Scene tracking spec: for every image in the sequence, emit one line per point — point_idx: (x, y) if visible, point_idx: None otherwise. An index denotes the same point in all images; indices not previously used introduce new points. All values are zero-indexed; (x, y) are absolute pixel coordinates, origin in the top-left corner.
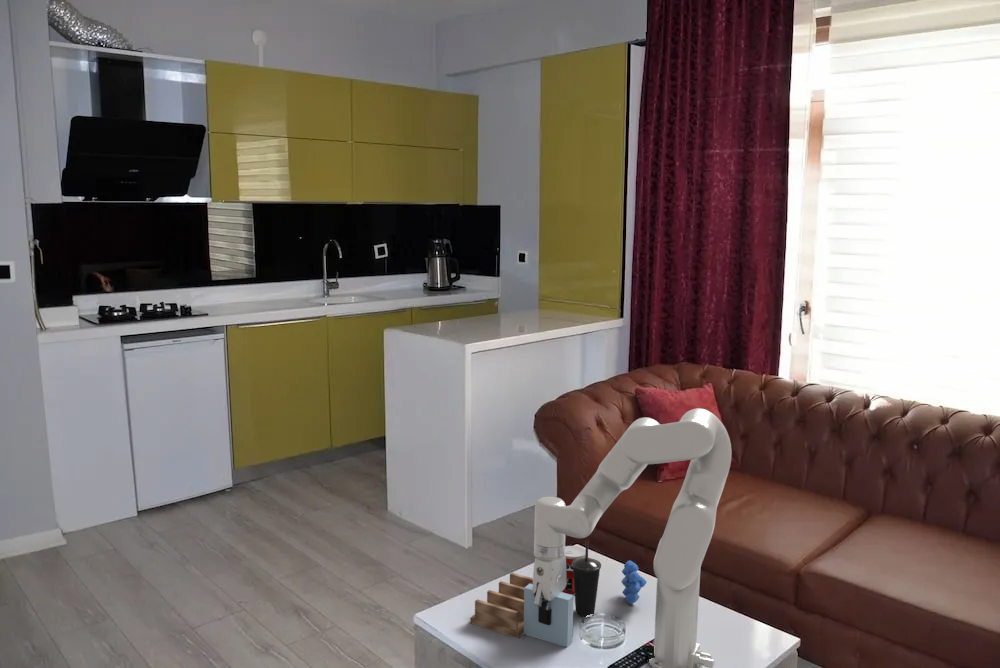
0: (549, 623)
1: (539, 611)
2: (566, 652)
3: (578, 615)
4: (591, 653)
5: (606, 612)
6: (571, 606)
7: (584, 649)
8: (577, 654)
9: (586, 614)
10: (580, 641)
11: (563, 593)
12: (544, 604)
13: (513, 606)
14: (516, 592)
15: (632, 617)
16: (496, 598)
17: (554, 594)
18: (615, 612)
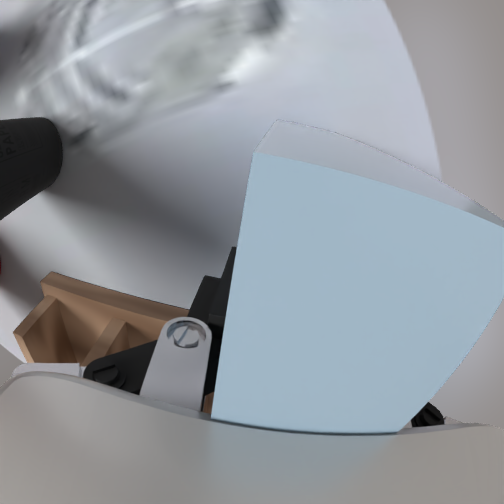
0: None
1: None
2: (379, 129)
3: (59, 168)
4: (344, 18)
5: (12, 89)
6: (334, 144)
7: (323, 50)
8: (378, 77)
9: (49, 135)
10: (255, 81)
11: (252, 394)
12: (429, 417)
13: (203, 410)
14: None
15: (21, 7)
16: None
17: (461, 474)
18: (7, 65)
